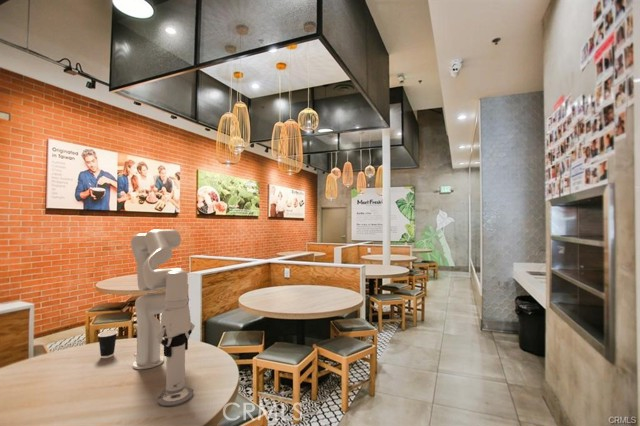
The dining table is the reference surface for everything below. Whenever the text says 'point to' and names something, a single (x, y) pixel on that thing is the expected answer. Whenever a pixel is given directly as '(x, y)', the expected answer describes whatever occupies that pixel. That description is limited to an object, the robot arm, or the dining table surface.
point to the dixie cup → (107, 343)
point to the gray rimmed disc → (175, 397)
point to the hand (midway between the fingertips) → (176, 352)
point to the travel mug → (176, 365)
